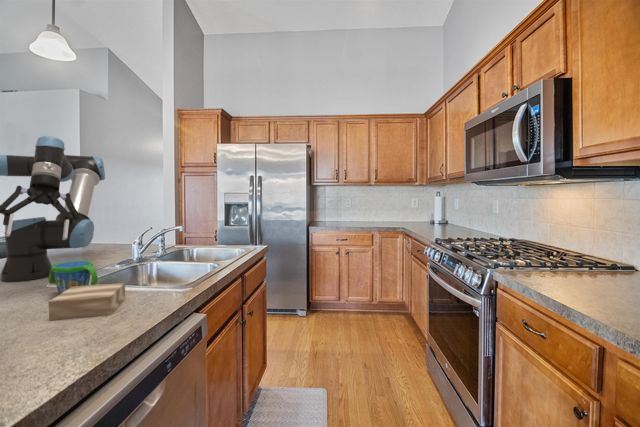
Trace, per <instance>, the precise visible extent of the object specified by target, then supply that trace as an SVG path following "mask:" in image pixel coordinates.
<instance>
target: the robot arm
mask: <svg viewBox="0 0 640 427" xmlns="http://www.w3.org/2000/svg"><path fill="white" fill-rule="evenodd" d="M65 150H66V148H65V142H64V141H63V140H62V139H60V137H55V136H51V135H42V136H40V137H38V138H37V140H36V144H35V150H34V155H33V156H32V155H31V156H29V155H14V154H11V155H10V154H9V155H8V154H0V176H2V177H30V181H29V187H28V188H25V187H22V186H21V185H17V186H16V188H15V190H14V192H13V193H12V194H11V195H10V196H9V197H8V198H6V199H5V201H4V202H2V203H1V204H0V214H2V216H4V217H3V222H2V224H3V226H4V228H5V229H4V238H5V254H6V255H5V256H6V260H5V262H4V265H3V268H2V269H1V273H0V281H1V282H9V283H10V282H13V283H14V282H23V281H24V282H25V281H32V280H37V279H43V278H47V277H49V274H50V270H51V268H52V266H53V264H52V262H51V261H50V259H49V256H48V250H59V249H64V250H65V249H80V248H86V247H88V246H89V245H90V244H91V242H92V240H93V237H94V231H95V226H94V222H93V220H91V218H90V216H89V211H90V206H91V202H92V198H93V193H94V191H95V190H94V189H95V187H96V186H97V185H98V184H99V183H100V181H104V180H105V179H106V171H105V165H104V161H103V158H102V157H99V156H93V155H92V156H89V155H88V156H87V155H70V154H67V155H66V154H65ZM70 180H71V184H70V188H69V191H68V192H67V193H60V186H61V183H63V182H64V183H65V182H68V181H70ZM25 193H26V194H27V196H28V197H26V198H25V199H24V200H22V201H20V202H17V203H16V204H15V205H12V206H11V207H10V205H11V204H13V202H15V200H17V198H18V197H19V196H20V195H23V194H25ZM59 199H62V200H63V201H64V203H65V204H64V205H62V203H61V202H60V201H59ZM33 202H34V203H36V204H43V205H47V206H49V205H51V206H52V207H53V208H55V210H56V211H58V212H59V213H58V215H57V216H56V217H55V219H51V220H50V219H49V220H47V218H46V217H45V216H40V217H39V216H38V217H31V218H29V217H28V218H23V219H15V220H14V217H15V216H14V215H15V213H16V212H18V211H19V210H21V209H23V208H24V207H26V206H27V205H30V204H32V203H33ZM8 207H9V208H8ZM7 208H8V209H7Z"/></svg>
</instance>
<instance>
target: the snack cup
mask: <svg viewBox="0 0 640 427" xmlns="http://www.w3.org/2000/svg"><path fill="white" fill-rule="evenodd" d="M90 278H91V279H90ZM48 282H49V284H52V285H53V284H55V285H56V289H57V292H58V295H60V294H61V293H63V292H64V291H66V290H68V289H69V288H71V287H72V286H86V285H98V282H99V277H98V274H97V271H96V269H95V267H94V262H93V261H90V260H75V261H74V260H72V261H65V262H60V263H56V264H54V265H53V264H52V268H51V270H50V274H49V276H48Z"/></svg>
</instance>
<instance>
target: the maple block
mask: <svg viewBox="0 0 640 427" xmlns="http://www.w3.org/2000/svg"><path fill="white" fill-rule="evenodd" d="M125 299H126V283H125V282H118V283H117V282H116V283H104V284H103V283H101V284H96V285H91V284H89V285H86V286H72V287H71V288H69V289H68V290H66V291H64V292H63V293H61V294H60V295H59V294H58V295H56V296H55V297H53V298H52V299H50V300H49V301H48V318H49V321H57V320H67V319H78V318H85V317H98V316H108V315H112V314H113V313H114V312H115V310H116V309H117V308H118V307H119V306H120V305H121V303H123V301H125Z"/></svg>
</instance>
